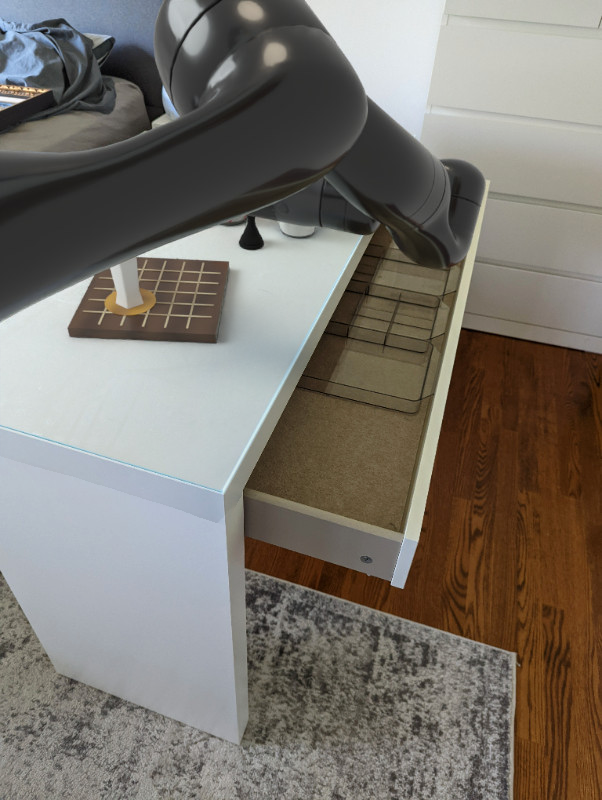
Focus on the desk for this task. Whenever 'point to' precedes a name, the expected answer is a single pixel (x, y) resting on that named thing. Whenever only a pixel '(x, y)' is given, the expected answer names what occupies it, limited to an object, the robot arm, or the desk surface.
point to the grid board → (157, 303)
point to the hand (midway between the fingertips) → (152, 160)
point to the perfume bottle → (127, 284)
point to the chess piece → (251, 236)
